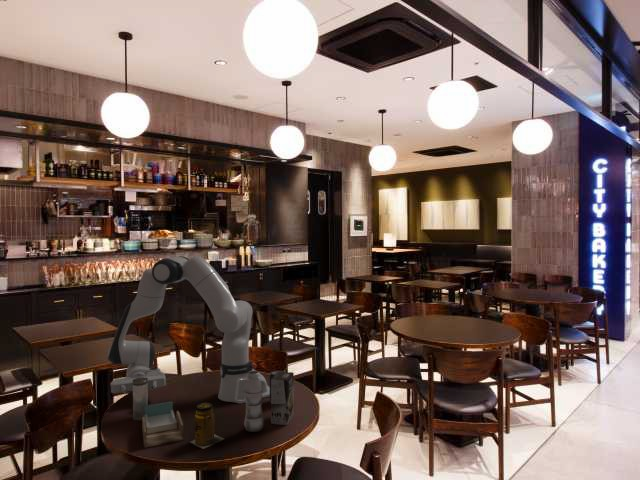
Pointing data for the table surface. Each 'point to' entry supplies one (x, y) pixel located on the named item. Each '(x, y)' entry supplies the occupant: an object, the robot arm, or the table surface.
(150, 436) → the housing
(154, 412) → the tray
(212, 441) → the condiment
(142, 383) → the canister
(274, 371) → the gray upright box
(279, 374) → the coffee box
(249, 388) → the plastic bottle
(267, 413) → the table surface
